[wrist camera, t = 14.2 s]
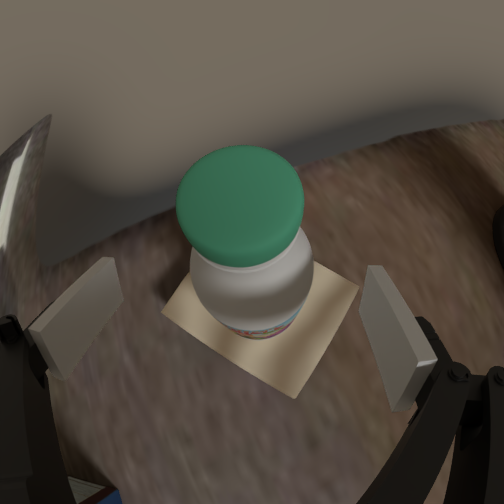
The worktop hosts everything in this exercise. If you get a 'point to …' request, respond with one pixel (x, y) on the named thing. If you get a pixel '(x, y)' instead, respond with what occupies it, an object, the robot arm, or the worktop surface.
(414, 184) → the worktop surface
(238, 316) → the milk bottle
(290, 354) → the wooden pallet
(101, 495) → the protein box
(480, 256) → the worktop surface
